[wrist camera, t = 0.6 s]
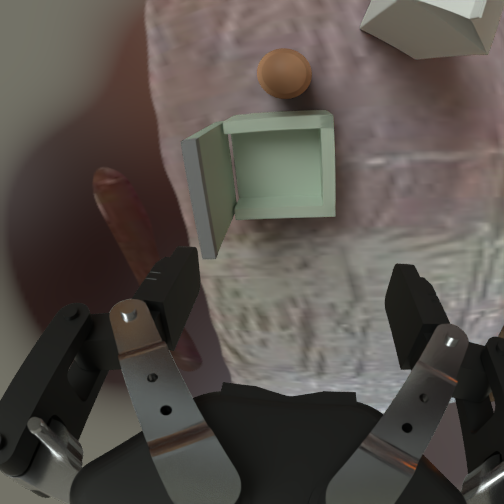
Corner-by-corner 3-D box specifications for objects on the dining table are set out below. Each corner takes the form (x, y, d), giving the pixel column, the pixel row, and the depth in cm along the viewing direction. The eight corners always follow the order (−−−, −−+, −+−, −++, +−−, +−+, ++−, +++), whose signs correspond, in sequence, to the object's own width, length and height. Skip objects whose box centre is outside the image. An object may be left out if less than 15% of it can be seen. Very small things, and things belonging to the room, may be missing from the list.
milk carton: (434, 13, 22) (539, -17, 6) (415, 60, 26) (521, 56, 9) (379, -18, 21) (450, -89, 5) (358, 29, 25) (425, -21, 9)
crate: (326, 109, 30) (333, 115, 25) (329, 195, 35) (335, 216, 30) (234, 115, 32) (222, 122, 27) (244, 198, 37) (235, 219, 32)
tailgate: (226, 120, 29) (195, 139, 20) (237, 207, 34) (215, 259, 25) (215, 122, 30) (180, 141, 21) (227, 208, 34) (202, 259, 25)
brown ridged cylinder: (305, 54, 28) (309, 45, 21) (309, 95, 30) (314, 98, 23) (262, 57, 28) (252, 49, 21) (266, 97, 31) (258, 101, 24)
